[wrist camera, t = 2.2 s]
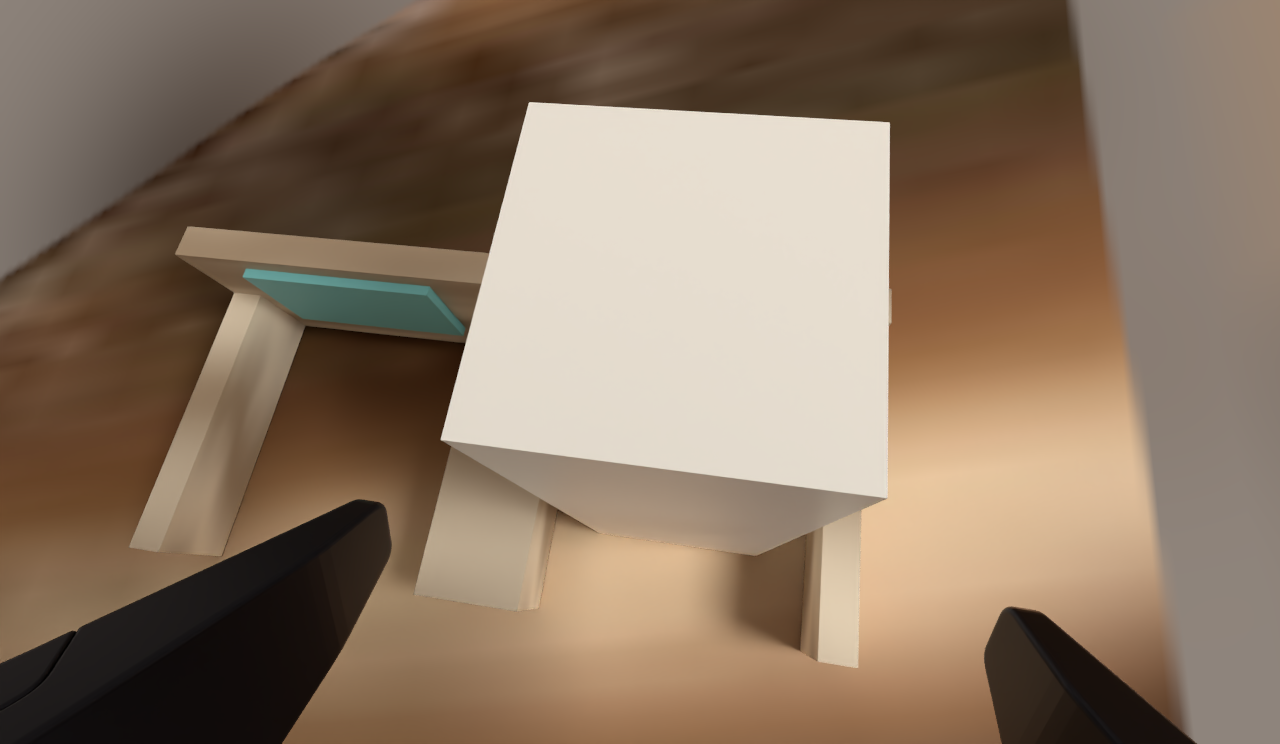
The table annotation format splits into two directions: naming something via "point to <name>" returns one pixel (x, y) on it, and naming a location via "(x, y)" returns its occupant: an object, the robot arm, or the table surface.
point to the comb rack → (470, 492)
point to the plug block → (686, 324)
